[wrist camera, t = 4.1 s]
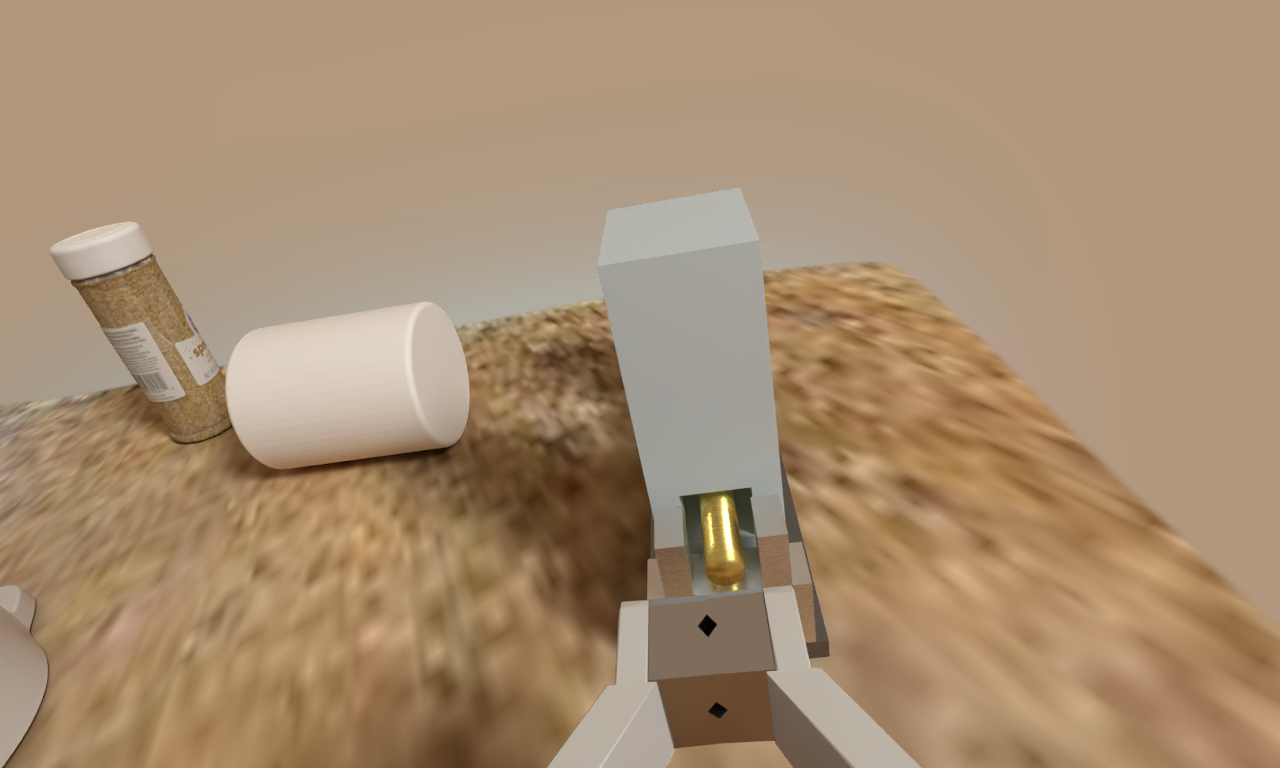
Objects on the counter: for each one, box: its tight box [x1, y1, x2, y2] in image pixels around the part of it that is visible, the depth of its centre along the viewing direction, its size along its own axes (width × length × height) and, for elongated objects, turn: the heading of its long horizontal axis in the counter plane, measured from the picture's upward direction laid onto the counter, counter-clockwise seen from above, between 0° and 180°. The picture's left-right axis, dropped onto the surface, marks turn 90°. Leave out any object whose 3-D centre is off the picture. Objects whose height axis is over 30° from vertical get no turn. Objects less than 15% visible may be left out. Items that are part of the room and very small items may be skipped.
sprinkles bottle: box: [50, 222, 232, 443], centre depth 42 cm, size 5×5×13 cm
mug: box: [225, 302, 470, 469], centre depth 40 cm, size 12×10×8 cm
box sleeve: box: [597, 188, 786, 554], centre depth 24 cm, size 4×5×12 cm
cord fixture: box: [647, 450, 829, 658], centre depth 29 cm, size 6×19×9 cm, turn 179°
